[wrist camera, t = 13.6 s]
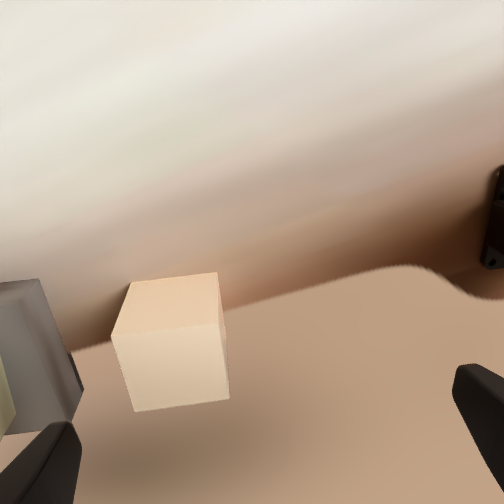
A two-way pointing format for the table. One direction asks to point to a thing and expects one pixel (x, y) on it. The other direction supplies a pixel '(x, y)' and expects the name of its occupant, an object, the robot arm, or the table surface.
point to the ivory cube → (173, 342)
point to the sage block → (5, 403)
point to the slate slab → (35, 359)
